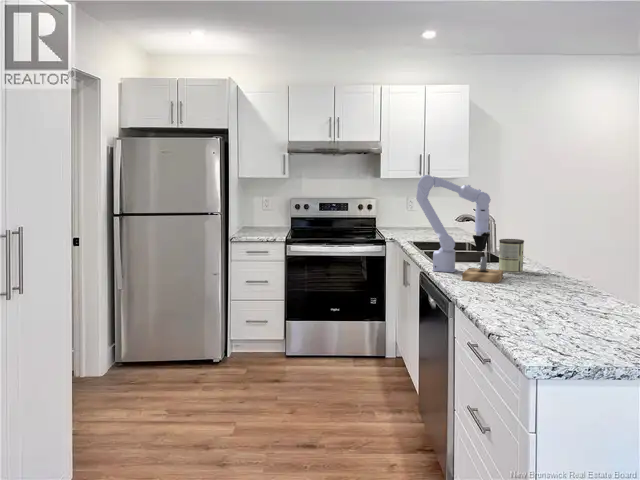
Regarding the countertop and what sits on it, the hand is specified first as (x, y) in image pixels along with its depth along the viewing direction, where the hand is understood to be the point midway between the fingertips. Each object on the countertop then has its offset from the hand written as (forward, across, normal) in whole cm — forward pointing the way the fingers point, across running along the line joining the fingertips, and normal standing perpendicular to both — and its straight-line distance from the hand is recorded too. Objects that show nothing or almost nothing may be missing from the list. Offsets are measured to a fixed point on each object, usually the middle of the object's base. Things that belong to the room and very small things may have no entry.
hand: (480, 250), depth 245 cm
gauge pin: (+9, -17, -4) cm, 20 cm away
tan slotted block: (+9, -17, -4) cm, 20 cm away
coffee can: (+10, +6, -12) cm, 16 cm away
